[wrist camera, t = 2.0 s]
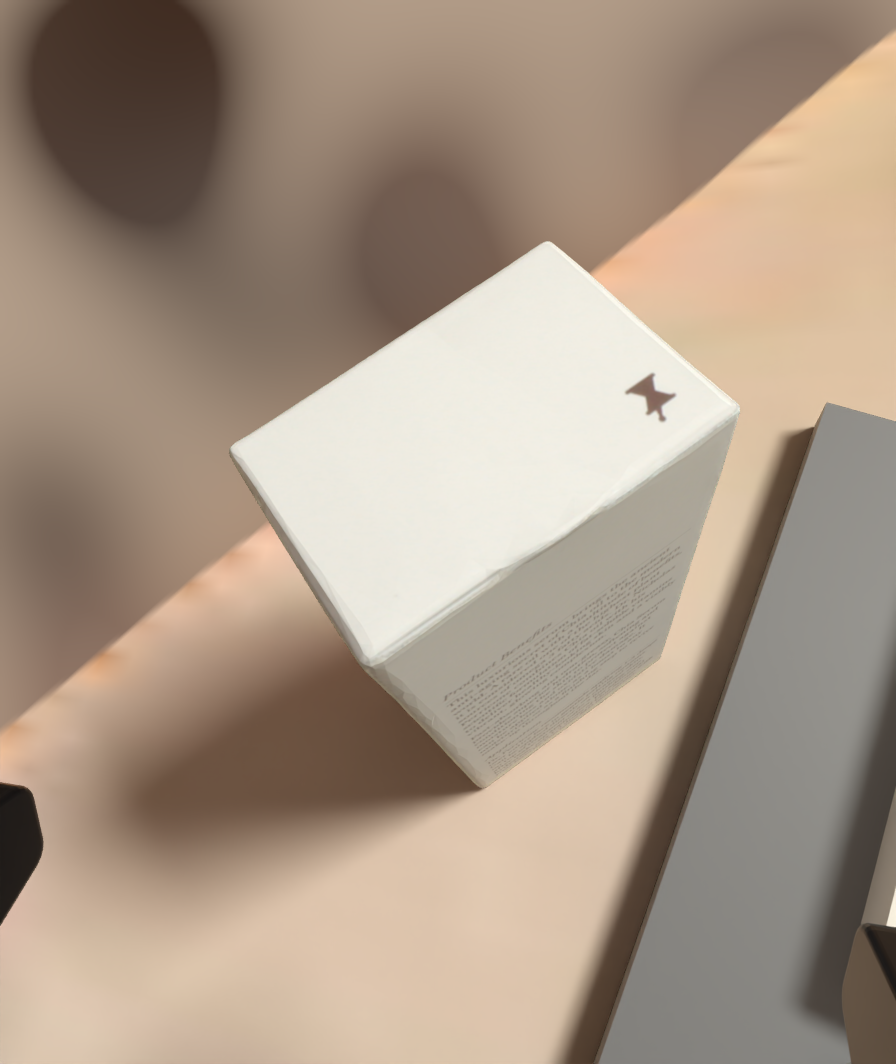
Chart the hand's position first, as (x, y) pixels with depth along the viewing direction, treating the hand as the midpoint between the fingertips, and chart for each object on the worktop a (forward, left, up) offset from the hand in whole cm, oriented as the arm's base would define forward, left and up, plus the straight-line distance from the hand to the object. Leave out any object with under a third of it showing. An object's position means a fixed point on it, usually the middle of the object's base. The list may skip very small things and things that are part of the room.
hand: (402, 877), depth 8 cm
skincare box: (+5, +2, -12) cm, 13 cm away
